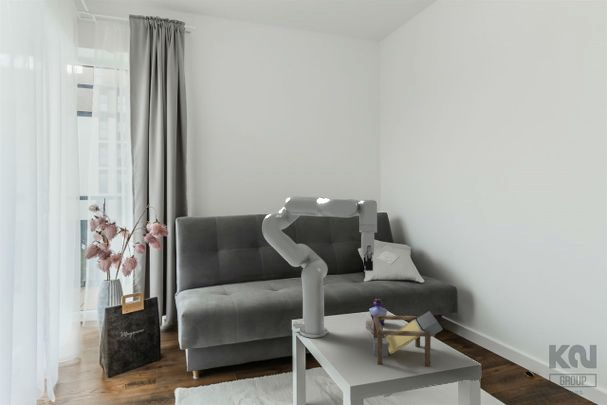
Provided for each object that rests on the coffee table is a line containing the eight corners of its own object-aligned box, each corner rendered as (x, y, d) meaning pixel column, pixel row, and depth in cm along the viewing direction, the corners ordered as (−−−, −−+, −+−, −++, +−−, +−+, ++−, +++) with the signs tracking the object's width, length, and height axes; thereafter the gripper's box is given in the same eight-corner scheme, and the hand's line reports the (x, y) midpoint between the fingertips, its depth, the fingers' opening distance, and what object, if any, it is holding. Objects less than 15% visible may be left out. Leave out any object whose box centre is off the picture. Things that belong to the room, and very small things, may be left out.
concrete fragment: (379, 327, 170) (379, 314, 170) (386, 339, 156) (386, 325, 156) (364, 327, 170) (364, 314, 170) (370, 339, 156) (370, 325, 156)
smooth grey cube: (387, 356, 139) (374, 355, 139) (386, 350, 144) (373, 350, 144) (387, 343, 139) (374, 343, 139) (386, 338, 144) (373, 337, 144)
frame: (377, 364, 132) (377, 331, 132) (373, 343, 151) (373, 315, 150) (430, 366, 130) (430, 333, 130) (419, 345, 149) (419, 316, 149)
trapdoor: (394, 360, 134) (389, 351, 134) (389, 344, 148) (384, 337, 148) (443, 330, 132) (438, 322, 132) (433, 317, 146) (428, 310, 146)
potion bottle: (375, 328, 168) (374, 302, 168) (365, 322, 176) (365, 297, 176) (390, 325, 171) (390, 300, 171) (380, 320, 179) (380, 296, 179)
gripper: (358, 226, 165) (358, 264, 165) (360, 230, 148) (360, 272, 148) (375, 226, 164) (375, 264, 164) (379, 230, 147) (379, 272, 147)
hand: (368, 268), depth 156 cm, fingers open, 9 cm apart
